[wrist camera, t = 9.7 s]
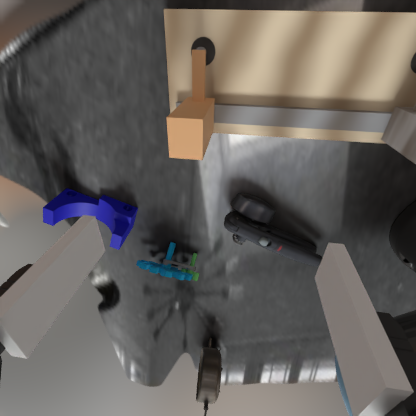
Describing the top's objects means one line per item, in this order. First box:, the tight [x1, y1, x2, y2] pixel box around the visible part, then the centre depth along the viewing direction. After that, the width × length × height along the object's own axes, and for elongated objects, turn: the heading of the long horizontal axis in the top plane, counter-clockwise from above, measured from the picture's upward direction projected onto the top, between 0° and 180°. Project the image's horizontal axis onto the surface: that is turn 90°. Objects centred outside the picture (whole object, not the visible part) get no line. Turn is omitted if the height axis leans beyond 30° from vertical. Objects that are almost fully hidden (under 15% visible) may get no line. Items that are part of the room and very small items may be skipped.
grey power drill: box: [196, 337, 223, 416], centre depth 57 cm, size 11×5×16 cm, turn 173°
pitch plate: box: [164, 9, 416, 164], centre depth 23 cm, size 28×12×12 cm, turn 89°
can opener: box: [224, 193, 322, 266], centre depth 37 cm, size 18×7×6 cm, turn 59°
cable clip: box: [43, 188, 138, 250], centre depth 39 cm, size 12×4×6 cm, turn 69°
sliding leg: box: [167, 47, 215, 160], centre depth 23 cm, size 3×8×10 cm, turn 179°
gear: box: [136, 242, 199, 281], centre depth 43 cm, size 11×6×10 cm
